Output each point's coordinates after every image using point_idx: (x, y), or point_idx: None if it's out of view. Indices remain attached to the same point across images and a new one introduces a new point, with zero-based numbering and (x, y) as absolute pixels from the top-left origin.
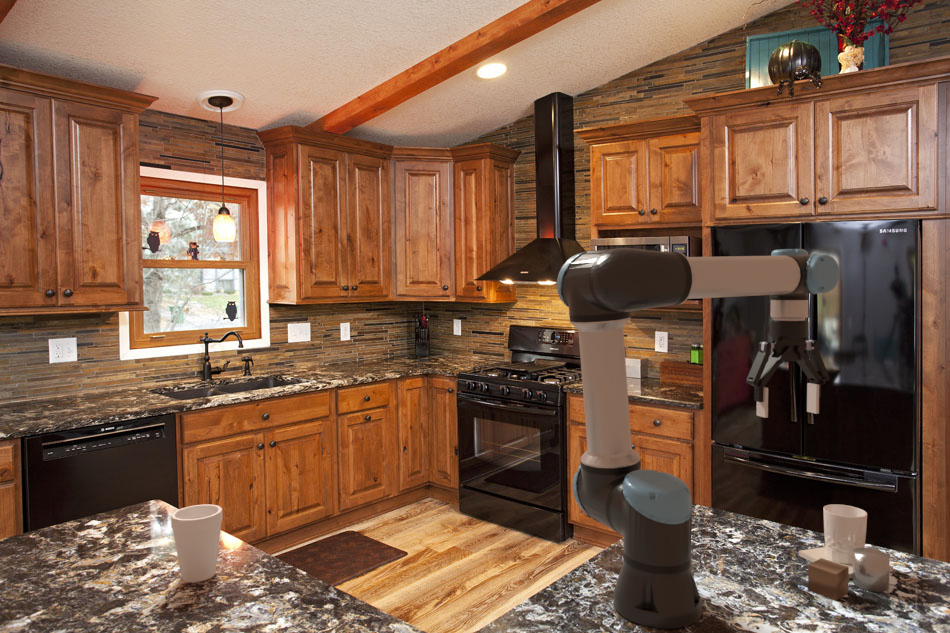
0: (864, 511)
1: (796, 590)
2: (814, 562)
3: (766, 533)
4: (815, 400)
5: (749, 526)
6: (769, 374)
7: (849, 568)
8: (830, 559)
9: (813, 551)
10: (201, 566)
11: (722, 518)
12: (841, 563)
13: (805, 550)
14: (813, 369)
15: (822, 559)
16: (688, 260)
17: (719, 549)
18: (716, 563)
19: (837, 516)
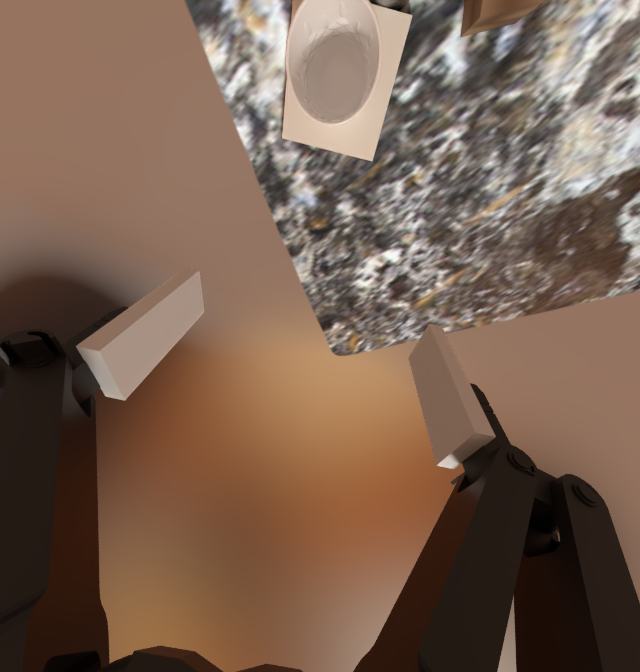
0: (294, 21)
1: (529, 38)
2: (518, 4)
3: (334, 248)
4: (167, 301)
5: (332, 276)
6: (504, 537)
7: None
8: None
9: (355, 144)
10: None
11: (337, 309)
12: None
13: (362, 155)
14: (4, 469)
15: (486, 8)
16: None
17: (441, 243)
18: (497, 210)
19: (381, 44)
